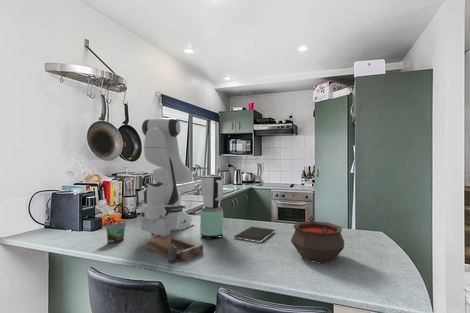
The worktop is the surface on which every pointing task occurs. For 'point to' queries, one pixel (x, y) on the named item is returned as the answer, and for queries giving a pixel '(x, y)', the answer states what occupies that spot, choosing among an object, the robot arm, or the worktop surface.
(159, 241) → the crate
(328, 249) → the brown pot
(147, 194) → the robot arm
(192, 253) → the bay
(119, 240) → the food container
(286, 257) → the worktop surface
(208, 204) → the juicer
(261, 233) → the hardcover book
